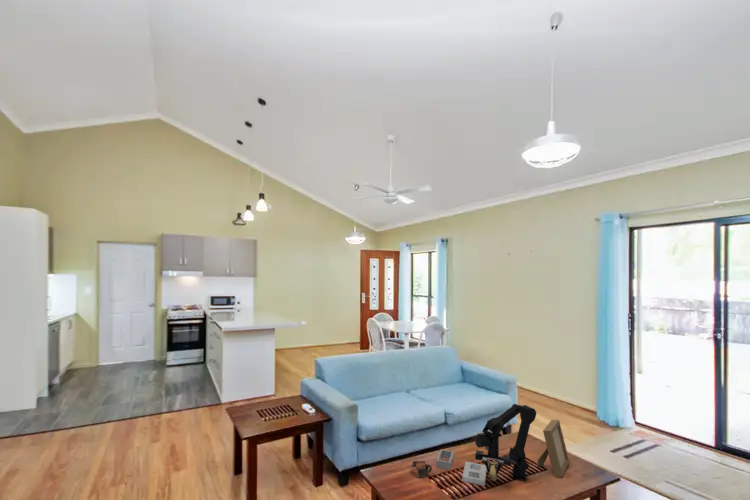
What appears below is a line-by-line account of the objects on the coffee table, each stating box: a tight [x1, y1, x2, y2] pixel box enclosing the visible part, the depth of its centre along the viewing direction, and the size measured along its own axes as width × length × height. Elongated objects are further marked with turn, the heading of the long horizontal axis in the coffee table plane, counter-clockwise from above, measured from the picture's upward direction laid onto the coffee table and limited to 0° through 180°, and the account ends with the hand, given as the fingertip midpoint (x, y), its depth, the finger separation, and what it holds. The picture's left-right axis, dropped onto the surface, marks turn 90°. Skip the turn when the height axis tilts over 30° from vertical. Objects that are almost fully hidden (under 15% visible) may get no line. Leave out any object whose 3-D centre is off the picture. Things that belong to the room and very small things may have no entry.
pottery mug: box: [411, 460, 433, 478], centre depth 217 cm, size 12×10×8 cm
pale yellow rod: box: [488, 461, 498, 482], centre depth 210 cm, size 4×4×8 cm
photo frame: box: [536, 419, 570, 478], centre depth 230 cm, size 15×22×25 cm
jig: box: [461, 461, 488, 487], centre depth 217 cm, size 12×18×2 cm, turn 161°
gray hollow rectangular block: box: [436, 449, 454, 471], centre depth 230 cm, size 8×15×4 cm, turn 161°
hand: (492, 473), depth 210 cm, fingers closed on pale yellow rod, 4 cm apart
